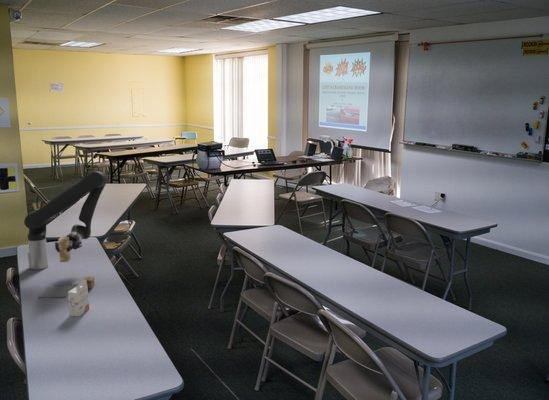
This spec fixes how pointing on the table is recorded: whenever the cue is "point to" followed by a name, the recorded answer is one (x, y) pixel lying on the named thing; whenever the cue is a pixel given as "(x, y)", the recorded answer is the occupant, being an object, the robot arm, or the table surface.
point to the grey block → (77, 283)
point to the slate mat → (56, 292)
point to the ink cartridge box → (78, 299)
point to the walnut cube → (89, 282)
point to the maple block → (64, 249)
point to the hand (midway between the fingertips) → (62, 250)
